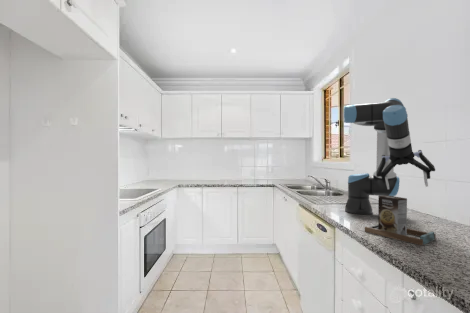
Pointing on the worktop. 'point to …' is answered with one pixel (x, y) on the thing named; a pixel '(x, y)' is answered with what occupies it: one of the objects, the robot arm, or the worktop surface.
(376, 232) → the rectangular frame
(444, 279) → the worktop surface
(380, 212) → the coffee box
